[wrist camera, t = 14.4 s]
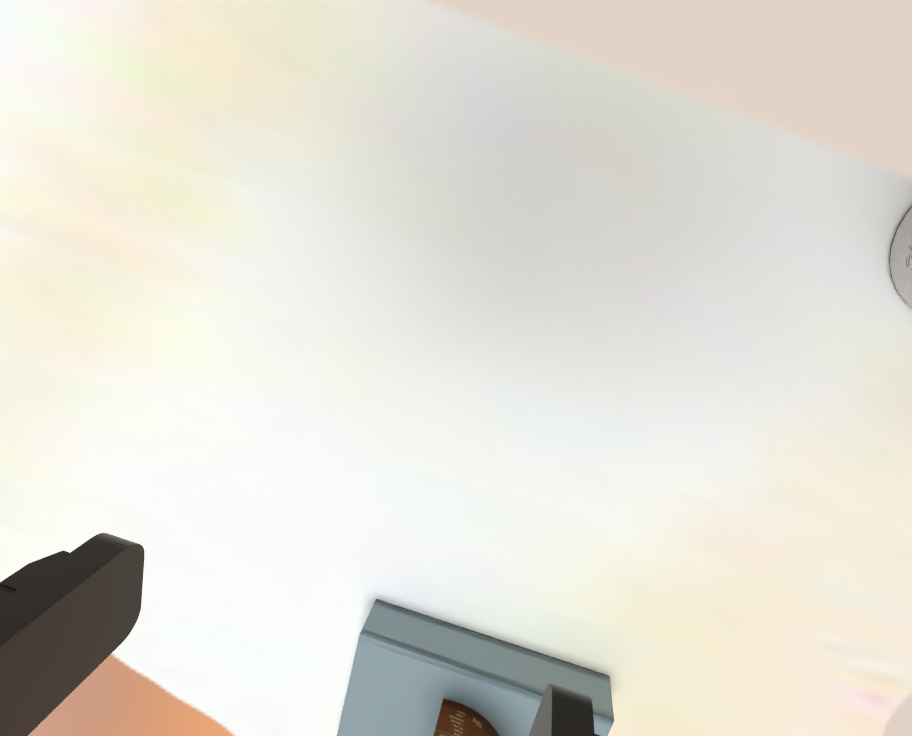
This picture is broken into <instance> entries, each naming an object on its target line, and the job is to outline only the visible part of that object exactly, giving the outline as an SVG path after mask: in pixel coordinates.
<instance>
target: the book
mask: <svg viewBox="0 0 912 736" xmlns="http://www.w3.org/2000/svg"><path fill="white" fill-rule="evenodd" d="M549 683H551V684H554V685H557V686H560V687H563V688H566V689H569V690H572V691H575V692H578V693H581V694H584V695H587V696H590V697H591V700H592V704H593V718H594V733H595V734H597V735H600V736H608V733H609V731H610V729H611V726H612V724H613V722H614V715H613V706H612V697H611V688H610V678H609V676H606V675H603V674H600V673H597V672H594V671H591V670H588V669H585V668H582V667H579V666H576V665H573V664H570V663H567V662H564V661H561V660H558V659H555V658H552V657H549V656H546V655H543V654H540V653H537V652H534V651H531V650H528V649H525V648H522V647H519V646H516V645H513V644H510V643H507V642H504V641H501V640H498V639H495V638H492V637H489V636H486V635H483V634H480V633H477V632H473V631H470V630H467V629H464V628H461V627H458V626H455V625H452V624H449V623H446V622H443V621H440V620H437V619H434V618H431V617H428V616H425V615H422V614H419V613H416V612H413V611H410V610H407V609H404V608H401V607H398V606H395V605H392V604H389V603H386V602H383V601H380V600H377V599H376V601H375V603H374V605H373V607H372V610H371V612H370V614H369V616H368V618H367V620H366V622H365V624H364V627H363V629H362V631H361V633H360V636H359V640H358V645H357V649H356V653H355V658H354V662H353V667H352V671H351V676H350V680H349V685H348V689H347V693H346V698H345V702H344V707H343V711H342V716H341V720H340V724H339V729H338V733H337V736H433V735H434V731H435V728H436V724H437V720H438V716H439V712H440V709H441V705H442V701H443V699H447V700H452V701H455V702H458V703H461V704H464V705H466V706H468V707H470V708H472V709H473V710H475V711H476V712H478V713H479V714H481V715H482V716H483V717H484V718H485V719H487V720H488V721H489V723H490V724H491V725H492V726H493V727H494V728H495V730H496V731H497V733H498V735H499V736H529V733H530V730H531V728H532V725H533V722H534V719H535V717H536V714H537V711H538V708H539V706H540V703H541V700H542V697H543V695H544V692H545V689H546V687H547V685H548V684H549Z"/></svg>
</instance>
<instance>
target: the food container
mask: <svg viewBox="0 0 912 736" xmlns="http://www.w3.org/2000/svg"><path fill="white" fill-rule="evenodd" d="M433 736H499V735H498V733H497V731H496V730H495V728H494V727H493V726H492V725H491V724H490V723H489V721H488V720H487V719H485V718H484V717H483V716H482V715H481V714H479V713H478V712H476V711H475V710H473V709H472V708H470V707H468V706H466V705H464V704H461V703H458V702H455V701H452V700H447V699H443V701H442V705H441V709H440V712H439V716H438V720H437V724H436V728H435V731H434V735H433Z"/></svg>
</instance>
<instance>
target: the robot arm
mask: <svg viewBox="0 0 912 736" xmlns="http://www.w3.org/2000/svg"><path fill="white" fill-rule="evenodd" d="M890 267H891V275H892V279H893V282H894V285H895V287H896V290H897V292H898V293H899V295H900V296H901V297H902V299H903V300H904V301H905V303H906V304H907V305H908V306H909V307H911V308H912V208H911V209H910V210H909V211H908V213H907V214H906V216H905V217H904V219H903V221H902V222H901V224H900V226H899V228H898V229H897V232H896V235H895V238H894V241H893V244H892V248H891V257H890ZM143 567H144V549H143V547H142V546H141V545H140V544H137V543H134V542H131V541H128V540H125V539H122V538H119V537H116V536H113V535H110V534H107V533H101V534H98V535H96V536H94V537H92V538H91V539H90V540H88V541H87V542H85V543H84V544H82V545H81V546H80V547H78V548H77V549H75V550H74V551H72V552H71V553H68V552H66V551H61V552H58V553H56V554H53V555H50V556H48V557H45V558H42V559H40V560H37V561H35V562H32V563H29V564H28V565H26V566H25V567H23V568H22V569H20V570H18V571H17V572H15V573H14V574H12V575H11V576H9V577H8V578H6V579H5V580H3V581H2V582H0V736H28V735H29V734H30V733H31V732H32V731H33V730H34V729H35V728H36V727H37V726H38V725H39V724H40V722H42V721H43V720H44V719H45V718H46V717H47V716H48V715H49V714H50V713H51V712H52V711H53V710H54V709H55V708H56V707H57V706H58V705H59V704H60V703H61V702H62V701H63V700H64V699H65V698H66V697H67V696H68V695H69V694H70V693H71V692H72V691H73V690H74V689H75V688H76V687H77V686H78V685H79V684H80V683H81V682H82V681H83V680H85V679H86V678H87V677H88V676H89V675H90V674H91V672H93V671H94V670H95V669H96V668H97V667H98V666H99V664H101V663H102V662H103V661H104V660H105V659H106V658H107V657H108V656H109V655H110V654H111V653H112V652H113V651H114V650H115V649H116V648H117V647H118V646H119V645H120V644H121V643H122V642H123V641H124V640H125V639H126V637H127V636H128V635H129V633H130V632H131V630H132V629H133V627H134V625H135V623H136V621H137V619H138V616H139V613H140V609H141V597H142V582H143ZM529 736H600V735H597V734H595V733H594V718H593V704H592V700H591V697H590V696H587V695H584V694H581V693H578V692H575V691H572V690H569V689H566V688H563V687H560V686H557V685H554V684H551V683H549V684H548V685H547V687H546V689H545V692H544V695H543V697H542V700H541V703H540V706H539V708H538V711H537V714H536V717H535V719H534V722H533V725H532V728H531V730H530V733H529Z"/></svg>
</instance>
